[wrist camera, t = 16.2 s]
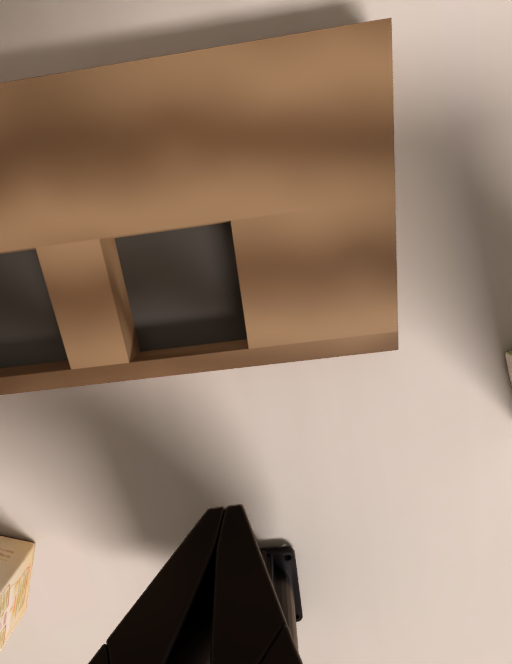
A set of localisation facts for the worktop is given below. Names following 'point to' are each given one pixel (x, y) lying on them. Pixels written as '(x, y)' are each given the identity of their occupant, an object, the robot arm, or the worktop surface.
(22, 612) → the coffeecake box
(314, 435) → the worktop surface
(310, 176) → the board
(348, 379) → the worktop surface
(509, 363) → the syrup box
